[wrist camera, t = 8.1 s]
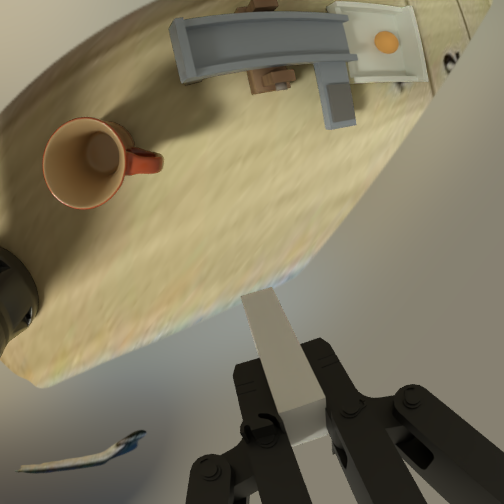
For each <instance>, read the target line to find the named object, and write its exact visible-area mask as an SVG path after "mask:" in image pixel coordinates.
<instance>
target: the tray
mask: <svg viewBox="0 0 504 504" xmlns="http://www.w3.org/2000/svg"><path fill="white" fill-rule="evenodd" d="M326 8H327V12H328V13H333V14H343V15H348V18H349V21H347V22H344V23H343V26H344V30H345V34H346V39H347V43H348V47H349V52H350V54H357V57H358V60H357V61H351V62H346V67H347V72H348V77H349V83H350V84H358V83H378V82H429V81H428V75H427V69H426V63H425V58H424V52H423V47H422V43H421V38H420V34H419V30H418V25H417V21H416V18H415V14H414V10H413V6H405V7H396V6H389V5H381V4H372V3H361V2H348V1H335V2H333V3H332V4H330V5H329V6H327V7H326ZM382 31H387V32H390V33H392V34H394V35H395V36H396V38H397V39H398V42H399V46H398V49H397V50H396V51H395V52H394V53H391V54H385V53H383V52H381V51H379V50H378V49H377V47H376V46H375V42H374V39H375V36H376V35H377V34H378V33H379V32H382Z"/></svg>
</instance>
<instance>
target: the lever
mask: <svg viewBox="0 0 504 504" xmlns="http://www.w3.org/2000/svg"><path fill="white" fill-rule="evenodd" d="M347 21H349V18H348V15H343V14H333V13H319V12H294V11H272V12H247V13H233V14H222V15H213V16H205V17H198V18H192V19H185V20H184V19H183V17H182V18H176V19H174V20H173V22H172V24H171V26H170V27H169V33H170V38H171V42H172V47H173V51H174V55H175V60H176V64H177V68H178V72H179V77H180V81H181V84H182V83H186V82H190V81H195V80H199V79H204V78H209V77H213V76H219V75H224V74H230V73H235V72H242V71H248V70H255V69H262V68H270V67H279V66H289V65H301V64H313V65H314V69H315V74H316V79H317V84H318V89H319V94H320V99H321V105H322V111H323V116H324V122H325V128H326V129H327V130H332V129H337V128H343V127H348V126H353V125H356V119H355V112H354V106H353V100H352V94H351V88H350V83H349V77H348V72H347V67H346V62H351V61H357V60H358V57H357V54H350V52H349V47H348V43H347V39H346V34H345V30H344V26H343V23H344V22H347Z"/></svg>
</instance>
